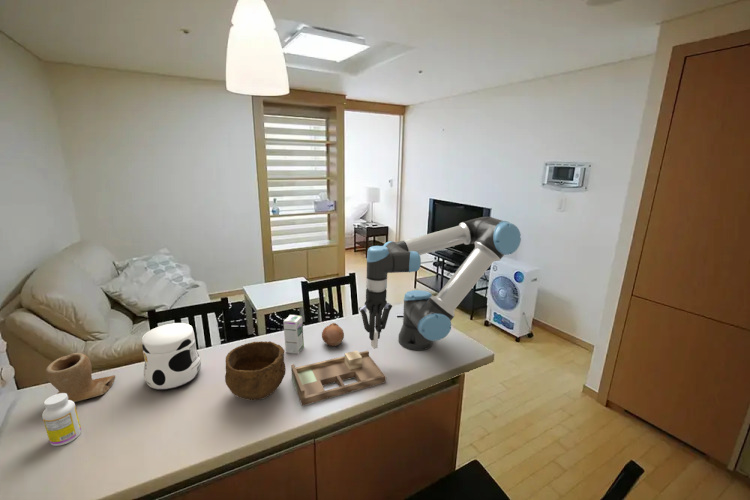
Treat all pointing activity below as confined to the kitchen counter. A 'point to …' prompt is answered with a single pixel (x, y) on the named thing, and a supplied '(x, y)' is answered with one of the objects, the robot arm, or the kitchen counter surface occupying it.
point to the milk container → (170, 356)
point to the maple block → (353, 360)
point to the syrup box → (293, 334)
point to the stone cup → (76, 377)
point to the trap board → (334, 378)
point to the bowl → (255, 370)
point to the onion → (332, 335)
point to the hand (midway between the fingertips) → (374, 346)
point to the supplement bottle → (61, 419)
